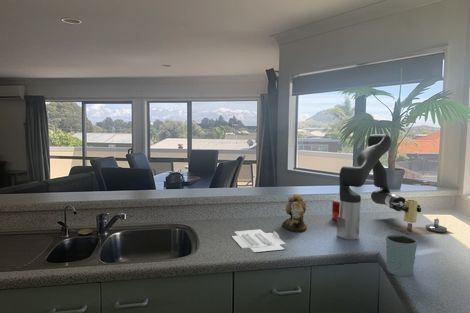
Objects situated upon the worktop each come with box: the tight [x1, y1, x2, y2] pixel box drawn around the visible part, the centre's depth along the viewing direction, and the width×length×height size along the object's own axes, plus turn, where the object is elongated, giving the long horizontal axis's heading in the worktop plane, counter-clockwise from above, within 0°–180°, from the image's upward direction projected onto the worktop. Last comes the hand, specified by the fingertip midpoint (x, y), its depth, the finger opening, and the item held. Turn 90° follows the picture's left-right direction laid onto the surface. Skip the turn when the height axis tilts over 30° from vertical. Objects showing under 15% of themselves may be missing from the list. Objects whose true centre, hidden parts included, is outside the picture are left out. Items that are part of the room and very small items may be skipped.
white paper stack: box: [230, 229, 287, 253], centre depth 154 cm, size 20×28×4 cm
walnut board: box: [394, 222, 454, 236], centre depth 166 cm, size 24×11×5 cm, turn 97°
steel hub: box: [424, 217, 448, 233], centre depth 167 cm, size 9×9×6 cm
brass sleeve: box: [403, 199, 419, 224], centre depth 164 cm, size 5×5×10 cm
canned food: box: [331, 198, 340, 222], centre depth 189 cm, size 8×8×11 cm
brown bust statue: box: [281, 193, 308, 233], centre depth 174 cm, size 18×12×17 cm, turn 8°
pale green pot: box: [385, 234, 418, 277], centre depth 123 cm, size 10×10×12 cm
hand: (413, 210), depth 162 cm, fingers closed on brass sleeve, 5 cm apart
